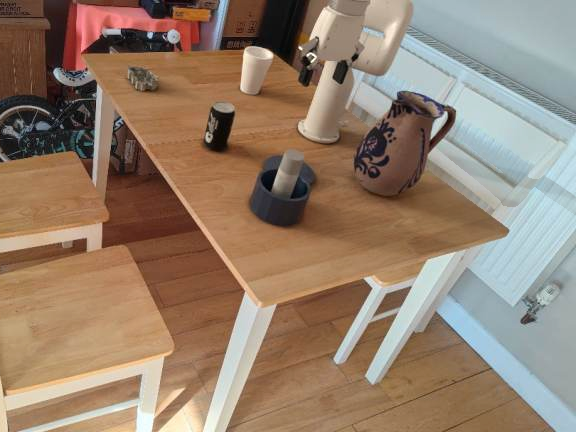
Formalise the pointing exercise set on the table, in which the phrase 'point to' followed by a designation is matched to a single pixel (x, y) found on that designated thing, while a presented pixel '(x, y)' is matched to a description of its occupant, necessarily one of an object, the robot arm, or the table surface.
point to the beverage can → (219, 125)
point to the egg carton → (142, 78)
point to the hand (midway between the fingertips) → (320, 82)
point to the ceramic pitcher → (400, 144)
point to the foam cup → (254, 69)
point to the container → (287, 173)
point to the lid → (304, 171)
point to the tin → (278, 200)
